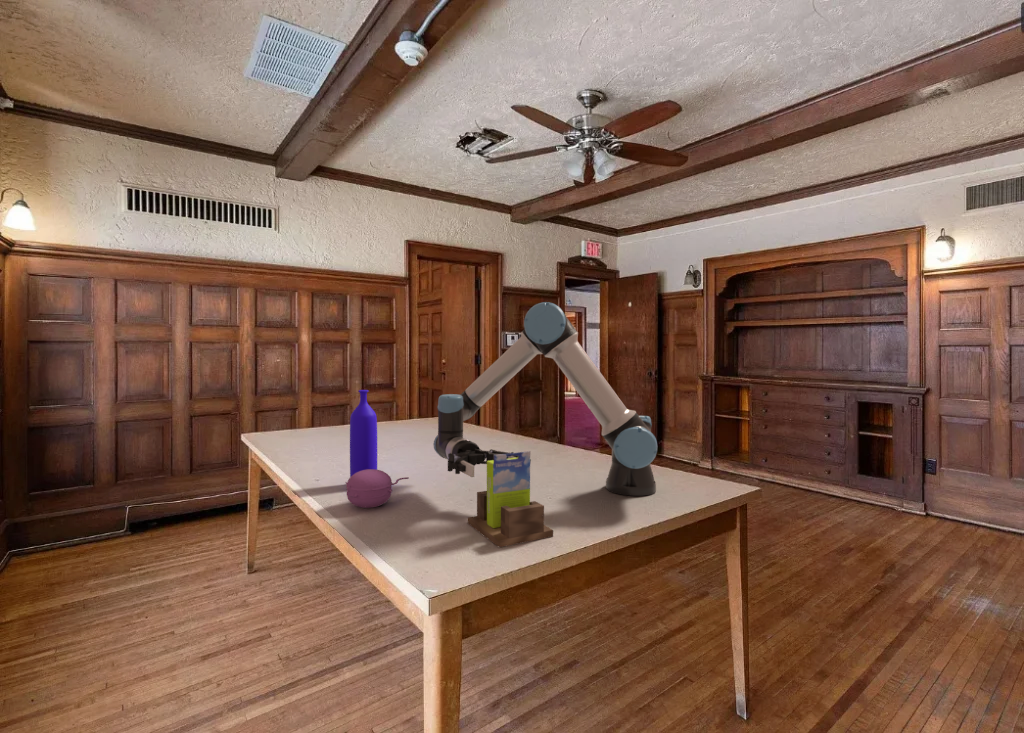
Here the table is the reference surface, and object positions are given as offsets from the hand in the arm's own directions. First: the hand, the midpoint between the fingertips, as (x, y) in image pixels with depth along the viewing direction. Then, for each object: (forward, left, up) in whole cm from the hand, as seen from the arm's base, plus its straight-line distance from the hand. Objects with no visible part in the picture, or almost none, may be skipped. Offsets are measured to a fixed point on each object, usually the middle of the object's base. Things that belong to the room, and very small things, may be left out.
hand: (498, 468), depth 125 cm
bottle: (+22, -50, -14) cm, 56 cm away
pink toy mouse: (+22, -28, -14) cm, 38 cm away
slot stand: (0, +6, -14) cm, 15 cm away
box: (0, +5, -12) cm, 13 cm away
